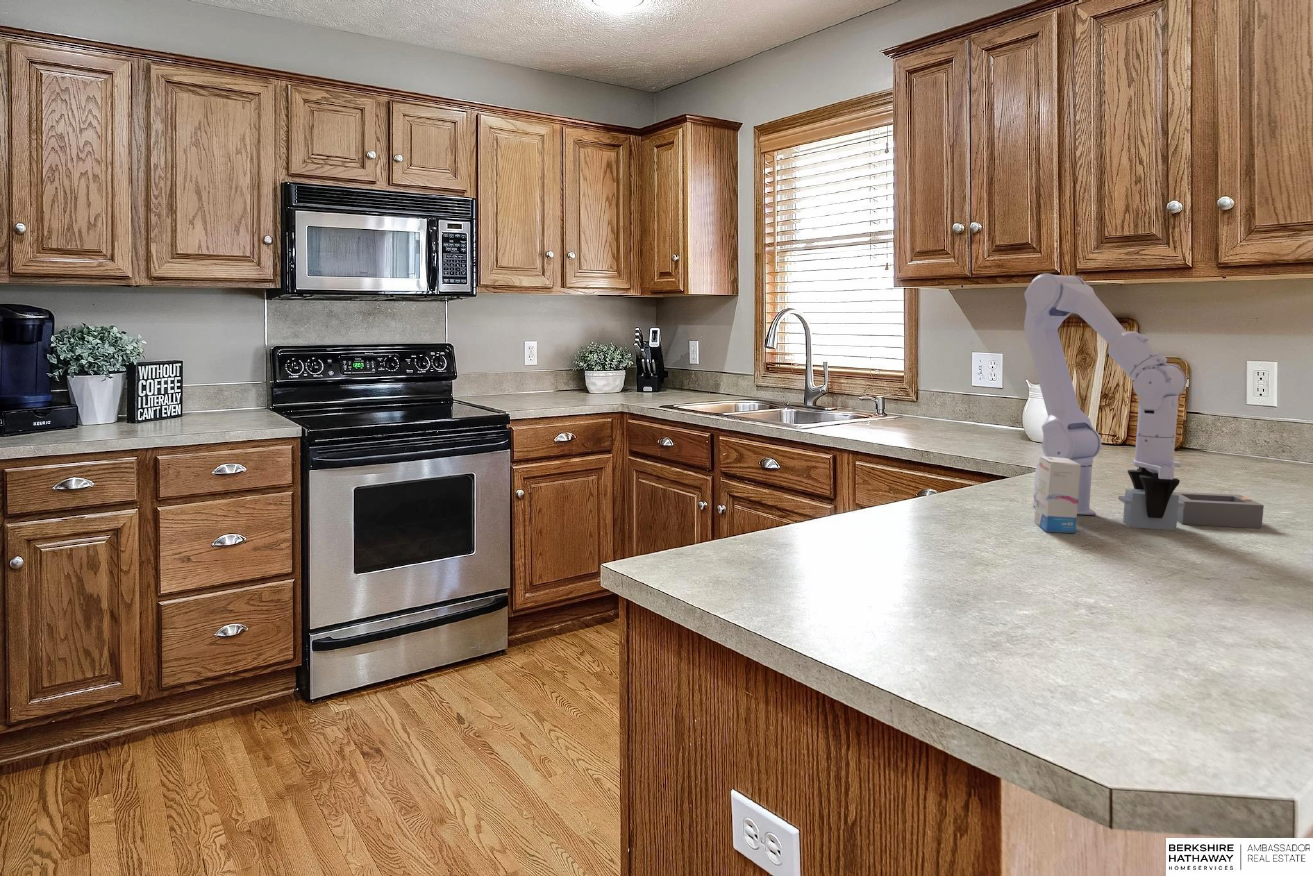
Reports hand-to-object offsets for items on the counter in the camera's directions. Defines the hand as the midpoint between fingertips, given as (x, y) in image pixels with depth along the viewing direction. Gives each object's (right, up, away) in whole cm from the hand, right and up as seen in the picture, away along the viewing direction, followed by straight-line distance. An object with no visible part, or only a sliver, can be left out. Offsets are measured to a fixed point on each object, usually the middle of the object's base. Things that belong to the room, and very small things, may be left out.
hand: (1149, 514), depth 146 cm
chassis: (+14, -2, +5) cm, 15 cm away
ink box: (-17, -2, -1) cm, 17 cm away
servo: (0, -2, 0) cm, 2 cm away
